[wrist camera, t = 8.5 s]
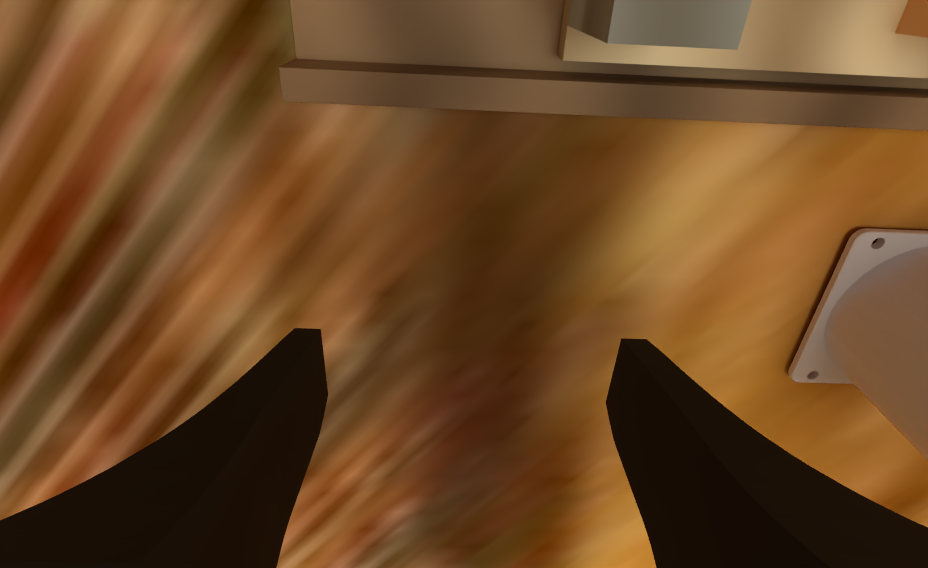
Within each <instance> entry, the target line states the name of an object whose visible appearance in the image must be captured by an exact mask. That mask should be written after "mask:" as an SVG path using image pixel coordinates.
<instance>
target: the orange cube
mask: <svg viewBox="0 0 928 568" xmlns="http://www.w3.org/2000/svg"><path fill="white" fill-rule="evenodd" d="M895 33H896V34H904V35H912V36H919V37H927V38H928V0H908V2H907V5H906V7H905V9H904V12H903V14H902V17H901V19H900V21H899V24H898V26H897V29H896V31H895Z"/></svg>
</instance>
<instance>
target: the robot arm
mask: <svg viewBox="0 0 928 568" xmlns="http://www.w3.org/2000/svg"><path fill="white" fill-rule="evenodd" d="M877 238H878V240H877V241H876V242H875V243H874V244H872V242H873V241H874V240H875V239H877ZM812 371H813V372H812ZM810 372H811V373H810ZM809 373H810V374H809ZM788 375H789V376H790V378H791V379H792V380H793V381H795V382H802V383H836V384H854V385H855V386H856V387H857V388H858V389H859V390H860V391H861V392H862V393H863V394H864V395H865V396H866V397H867V398H868V399H869V400H870V401H871V403H872V404H873V405H874V406H875V407H876V408H877V409H878V410H879V411H880V412H881V413H882V414H883V415H884V416H885V417H886V418H887V419H888V420H889V421H890V422H891V423H892V424H893V425H894V426H895V427H896V428H897V429H898V430H899V431H900V432H901V433H902V434H903V435H904V436H905V437H906V439H907V440H908V441H909V442H910V443H911V444H912V445H913V446H914V447H915V448H916V449H917V450H918V451H919V452H920V453H921V454H922V455H923V456H924V457H925V458H926V459H927V460H928V231H922V230H896V229H871V228H865V229H860V230H858V231H856V232H855V233H853V234H852V235H851V237H850V238H849V240H848V242H847V244H846V247H845V249H844V251H843V253H842V255H841V257H840V260H839V262H838V264H837V266H836V268H835V270H834V273H833V275H832V277H831V279H830V281H829V283H828V286H827V288H826V290H825V292H824V294H823V296H822V299H821V301H820V303H819V305H818V307H817V309H816V312H815V314H814V316H813V318H812V320H811V323H810V325H809V327H808V329H807V331H806V333H805V336H804V338H803V340H802V342H801V344H800V346H799V349H798V351H797V353H796V355H795V357H794V359H793V362H792V364H791V366H790V368H789V371H788ZM327 397H328V390H327V381H326V372H325V363H324V355H323V346H322V337H321V329H303V328H295V329H293V330H292V331H291V332H290V333H289V334H288V335H287V336H286V337H284V338H283V339H282V340H281V341H280V342H279V343H278V344H277V345H276V346H275V347H274V348H273V349H272V350H271V351H270V352H269V353H267V354H266V355H265V356H264V357H263V358H262V359H261V360H260V361H259V362H258V363H257V364H256V365H254V366H253V367H252V368H251V369H250V370H249V371H248V372H247V373H245V374H244V375H243V376H242V377H241V378H240V379H239V380H238V381H237V382H235V383H234V384H233V385H232V386H231V387H229V388H228V389H227V390H226V391H224V392H223V393H222V394H221V395H220V396H218V397H217V398H216V399H215V400H213V401H212V402H211V403H210V404H208V405H207V406H206V407H205V408H203V409H202V410H201V411H199V412H198V413H197V414H195V415H194V416H192V417H191V418H190V419H188V420H187V421H186V422H184V423H183V424H181V425H180V426H178V427H177V428H175V429H174V430H172V431H171V432H169V433H168V434H166V435H165V436H163V437H162V438H160V439H159V440H157V441H155V442H154V443H152V444H150V445H149V446H147V447H145V448H144V449H142V450H140V451H139V452H137V453H135V454H134V455H132V456H130V457H128V458H127V459H125V460H123V461H122V462H120V463H118V464H117V465H115V466H113V467H111V468H110V469H108V470H106V471H104V472H102V473H100V474H98V475H96V476H94V477H93V478H91V479H89V480H87V481H85V482H83V483H81V484H79V485H77V486H75V487H73V488H71V489H69V490H67V491H65V492H63V493H61V494H59V495H57V496H55V497H52V498H50V499H48V500H46V501H44V502H42V503H40V504H37V505H35V506H33V507H30V508H28V509H26V510H23V511H21V512H19V513H17V514H14V515H12V516H10V517H7V518H5V519H3V520H0V568H276V567H277V563H278V559H279V555H280V551H281V547H282V543H283V539H284V535H285V532H286V529H287V525H288V522H289V519H290V516H291V513H292V510H293V507H294V505H295V502H296V499H297V496H298V493H299V491H300V488H301V485H302V482H303V479H304V477H305V474H306V471H307V468H308V465H309V463H310V460H311V457H312V454H313V451H314V448H315V445H316V443H317V440H318V437H319V434H320V430H321V425H322V421H323V417H324V412H325V407H326V402H327ZM606 406H607V411H608V416H609V421H610V425H611V430H612V434H613V438H614V442H615V445H616V448H617V450H618V453H619V456H620V459H621V462H622V465H623V467H624V470H625V473H626V476H627V478H628V481H629V484H630V487H631V489H632V492H633V495H634V497H635V500H636V503H637V506H638V508H639V511H640V514H641V517H642V519H643V522H644V525H645V528H646V531H647V534H648V537H649V541H650V544H651V547H652V551H653V555H654V559H655V563H656V567H657V568H928V528H927V527H925V526H923V525H921V524H918V523H916V522H914V521H912V520H910V519H907V518H905V517H903V516H901V515H899V514H897V513H895V512H893V511H891V510H889V509H887V508H885V507H883V506H881V505H879V504H877V503H875V502H873V501H871V500H869V499H867V498H865V497H864V496H862V495H860V494H858V493H856V492H854V491H852V490H851V489H849V488H847V487H845V486H843V485H841V484H840V483H838V482H836V481H834V480H833V479H831V478H829V477H828V476H826V475H824V474H822V473H821V472H819V471H817V470H816V469H814V468H812V467H810V466H809V465H807V464H805V463H804V462H802V461H801V460H799V459H797V458H796V457H794V456H793V455H791V454H790V453H788V452H787V451H785V450H784V449H782V448H781V447H779V446H778V445H776V444H775V443H773V442H772V441H770V440H769V439H767V438H766V437H764V436H763V435H761V434H760V433H759V432H757V431H756V430H754V429H753V428H752V427H750V426H749V425H748V424H746V423H745V422H744V421H742V420H741V419H740V418H739V417H737V416H736V415H735V414H733V413H732V412H731V411H730V410H728V409H727V408H726V407H724V406H723V405H722V404H721V403H720V402H718V401H717V400H716V399H715V398H713V397H712V396H711V395H710V394H709V393H707V392H706V391H705V390H704V389H703V388H702V387H700V386H699V385H698V384H697V383H696V382H695V381H693V380H692V379H691V378H690V377H689V376H688V375H687V374H686V373H684V372H683V371H682V370H681V369H680V368H679V367H678V366H677V365H675V364H674V363H673V362H672V361H671V360H670V359H669V358H668V357H666V356H665V355H664V354H663V353H662V352H661V351H660V350H659V349H657V348H656V347H655V346H654V345H653V344H652V343H650V342H649V341H648V340H647V339H621V342H620V346H619V351H618V355H617V359H616V363H615V367H614V371H613V375H612V379H611V383H610V387H609V391H608V396H607V400H606Z"/></svg>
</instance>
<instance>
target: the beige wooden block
mask: <svg viewBox="0 0 928 568" xmlns="http://www.w3.org/2000/svg"><path fill="white" fill-rule="evenodd" d="M907 2H908V0H565V2H564V10H563V18H562V26H561V34H560V42H559V50H558V57H559V58H560V59H561V60H563V61H581V62H602V63H622V64H643V65H663V66H684V67H705V68H725V69H746V70H766V71H787V72H808V73H828V74H849V75H869V76H890V77H911V78H928V38H927V37H919V36H912V35H904V34H896V33H895V31H896V29H897V26H898V24H899V21H900V19H901V17H902V14H903V12H904V9H905V7H906V5H907Z"/></svg>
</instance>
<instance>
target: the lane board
mask: <svg viewBox="0 0 928 568" xmlns="http://www.w3.org/2000/svg"><path fill="white" fill-rule="evenodd" d="M564 2H565V0H290V5H291V14H292V23H293V33H294V42H295V51H296V59H295V60H293V61H291V62H289V63H287V64H285V65H283V66H281V67H279V72H280V81H281V89H282V97H283V101H285V102H307V103H329V104H351V105H373V106H395V107H417V108H439V109H462V110H484V111H506V112H528V113H550V114H572V115H594V116H616V117H638V118H660V119H682V120H704V121H726V122H748V123H771V124H793V125H815V126H837V127H859V128H881V129H903V130H925V131H928V78H911V77H890V76H869V75H849V74H828V73H808V72H787V71H766V70H746V69H725V68H705V67H684V66H663V65H643V64H622V63H602V62H581V61H563V60H561V59H560V58H559V57H558V50H559V42H560V34H561V26H562V18H563V10H564Z"/></svg>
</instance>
